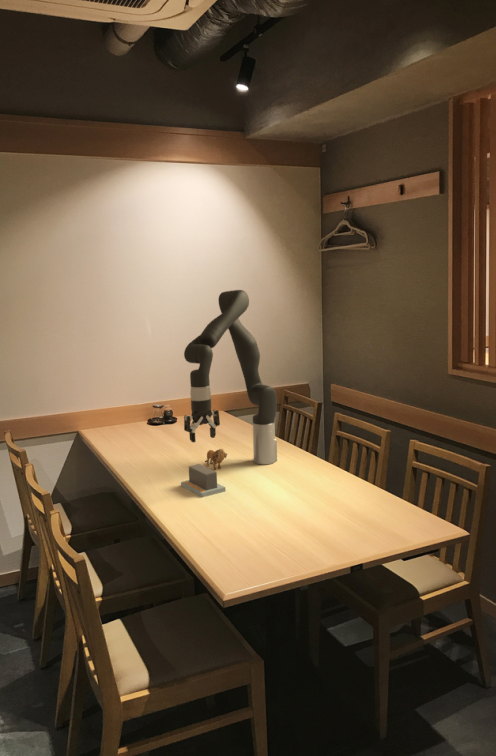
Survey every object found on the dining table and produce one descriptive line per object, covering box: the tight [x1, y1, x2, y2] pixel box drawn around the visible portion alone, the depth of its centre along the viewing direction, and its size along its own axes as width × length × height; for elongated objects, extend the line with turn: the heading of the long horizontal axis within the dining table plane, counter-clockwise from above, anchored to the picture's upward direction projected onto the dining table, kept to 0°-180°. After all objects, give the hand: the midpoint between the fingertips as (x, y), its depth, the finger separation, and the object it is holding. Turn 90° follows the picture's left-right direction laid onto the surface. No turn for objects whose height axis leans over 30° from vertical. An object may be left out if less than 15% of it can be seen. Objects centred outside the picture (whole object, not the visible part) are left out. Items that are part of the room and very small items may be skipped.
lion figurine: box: [204, 448, 228, 471], centre depth 269 cm, size 15×5×9 cm, turn 37°
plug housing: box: [188, 463, 218, 490], centre depth 244 cm, size 5×13×6 cm, turn 35°
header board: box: [180, 479, 226, 498], centre depth 244 cm, size 10×16×6 cm, turn 35°
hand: (202, 439), depth 243 cm, fingers open, 8 cm apart
